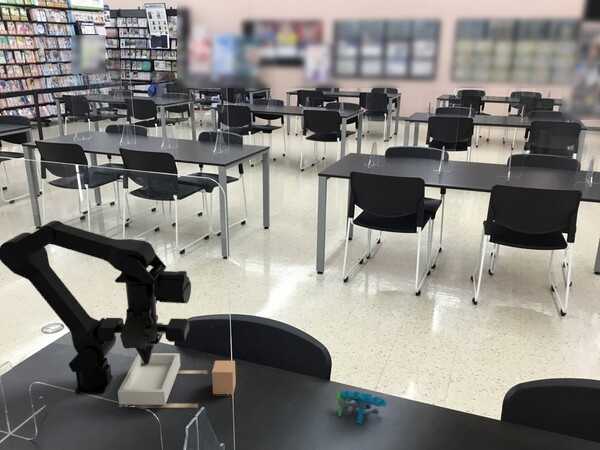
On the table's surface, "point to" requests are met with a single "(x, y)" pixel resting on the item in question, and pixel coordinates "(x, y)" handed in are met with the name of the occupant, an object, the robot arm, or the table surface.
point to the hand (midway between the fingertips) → (147, 363)
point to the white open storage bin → (150, 380)
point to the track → (172, 404)
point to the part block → (224, 377)
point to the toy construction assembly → (360, 399)
